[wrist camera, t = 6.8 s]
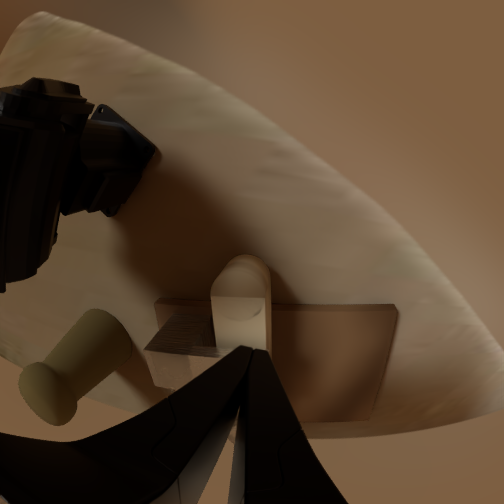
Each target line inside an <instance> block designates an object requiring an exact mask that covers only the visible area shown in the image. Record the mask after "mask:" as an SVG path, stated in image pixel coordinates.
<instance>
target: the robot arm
mask: <svg viewBox="0 0 504 504" xmlns="http://www.w3.org/2000/svg"><path fill="white" fill-rule="evenodd" d="M86 101H87V99H86V98H83V97H82V96H81V95H80V89H79V85H75V84H72V83H67V82H63V81H58V80H53V79H46V78H35V77H32V78H31V79H29V80H28V81H26V82H25V83H23V84H21V85H14V86H9V87H3V88H0V293H4V292H5V291H6V283H12V282H17V281H22V280H25V279H27V278H30V277H32V276H34V275H36V274H37V268H39V267H40V266H41V265H42V264H43V263H44V262H45V261H46V260H47V259H48V258H49V255H50V253H51V250H52V246H53V245H54V244H55V243H56V241H57V235H58V234H57V227H58V221H59V216H60V212H61V213H62V214H63V215H64V216H67V215H70V214H73V213H77V212H80V211H84V210H86V211H87V212H88V213H92V212H96V211H99V210H101V211H102V212H103V213H104V214H105V215H106V216H107V217H112V216H114V215H115V214H116V213H117V211H118V209H119V208H120V206H121V204H124V203H125V202H126V201H127V199H128V198H129V196H130V194H131V193H132V191H133V190H134V188H135V186H136V185H137V183H138V182H139V180H140V179H141V177H142V171H143V169H144V168H145V166H146V165H147V163H148V162H149V160H150V159H151V158H152V156H153V155H154V153H155V146H154V144H153V143H151V142H150V141H149V140H148V139H147V138H145V137H144V136H143V135H142V134H141V133H140V132H138V131H137V130H136V129H135V128H134V127H132V126H131V125H130V124H129V123H128V122H126V121H125V120H124V119H123V118H122V117H120V116H119V115H118V114H117V113H116V112H114V111H113V110H112V109H111V108H110V107H108V106H107V105H104V104H100V105H99V106H98V107H97V109H96V110H95V112H94V114H93V115H92V117H91V119H88V117H89V114H91V113H92V111H93V108H94V106H95V105H94V104H92V103H89V102H86ZM102 109H103V112H102V113H101V111H102ZM147 147H149V149H150V150H149V152H148V153H147V152H146V148H147ZM109 208H110V209H111V213H110V211H109ZM238 411H239V413H238ZM237 415H238V419H237V427H236V436H235V444H234V453H233V462H232V471H231V479H230V488H229V497H228V504H348V503H347V501H346V500H345V498H344V497H343V496H342V494H341V493H340V491H339V490H338V488H337V487H336V486H335V484H334V483H333V481H332V480H331V478H330V477H329V476H328V474H327V472H326V471H325V470H324V468H323V466H322V465H321V463H320V462H319V460H318V458H317V457H316V455H315V453H314V451H313V449H312V448H311V446H310V444H309V442H308V440H307V437H306V435H305V433H304V431H303V430H302V427H301V425H300V422H299V420H298V418H297V416H296V414H295V411H294V409H293V407H292V405H291V402H290V400H289V398H288V396H287V393H286V391H285V389H284V387H283V384H282V382H281V380H280V378H279V375H278V373H277V371H276V368H275V366H274V364H273V362H272V359H271V357H270V355H269V352H268V351H267V350H262V349H257V348H255V349H254V350H253V348H252V347H248V346H244V345H239V346H238V347H236V348H235V349H234V350H233V351H231V352H230V353H229V354H227V355H226V356H224V357H223V358H222V359H220V360H219V361H218V362H216V363H215V364H214V365H212V366H211V367H209V368H208V369H207V370H205V371H204V372H202V373H201V374H200V375H198V376H197V377H195V378H194V379H193V380H191V381H190V382H188V383H187V384H185V385H184V386H183V387H181V388H180V389H178V390H177V391H175V392H174V393H172V394H171V395H169V396H168V398H165V399H163V400H162V401H160V402H159V403H157V404H156V405H154V406H152V407H151V408H149V409H147V410H146V411H144V412H142V413H140V414H139V415H137V416H135V417H133V418H131V419H129V420H126V421H124V422H122V423H120V424H118V425H115V426H113V427H111V428H109V429H106V430H104V431H101V432H99V433H97V434H94V435H92V436H89V437H87V438H84V439H81V440H77V441H71V442H56V441H47V440H40V439H33V438H27V437H21V436H16V435H10V434H5V433H1V432H0V504H197V503H198V501H199V498H200V496H201V494H202V492H203V490H204V488H205V486H206V484H207V482H208V480H209V477H210V475H211V473H212V471H213V469H214V467H215V465H216V463H217V461H218V458H219V456H220V454H221V452H222V449H223V447H224V445H225V443H226V440H227V438H228V436H229V434H230V432H231V429H232V427H233V425H234V422H235V420H236V417H237Z"/></svg>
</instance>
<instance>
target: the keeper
mask: <svg viewBox="0 0 504 504" xmlns="http://www.w3.org/2000/svg"><path fill="white" fill-rule="evenodd" d="M234 349H235V348H217V346H216V340H215V334H214V328H213V321H212V315H198V314H178V313H173V314H172V315H171V317H170V318H169V319H168V320H167V321H166V323H165V324H164V325H163V326H162V327H161V329H160V330H159V331H158V332H157V334H156V335H155V336H154V337H153V338H152V340H151V341H150V342H149V343H148V344H147V346H146V347H145V348H144V349H143V351H144V355H145V358H146V361H147V364H148V367H149V370H150V373H151V376H152V379H153V382H154V385H155V386H158V387H163V388H169V389H176V390H178V389H180V388H181V387H183V386H184V385H185V384H187V383H188V382H190V381H191V380H193V379H194V378H195V377H197V376H198V375H200V374H201V373H202V372H204V371H205V370H207V369H208V368H209V367H211V366H212V365H214V364H215V363H216V362H218V361H219V360H220V359H222V358H223V357H224V356H226V355H227V354H229V353H230V352H231V351H233V350H234ZM253 350H254V349H253ZM262 350H265V349H262ZM267 351H268V352H269V350H267ZM237 419H238V418H237ZM237 419H236V420H235V422H234V425H233V427H232V429H231V432H230V434H229V436H228V439H229V440H230V441H231V442H232V443H234V444H235V436H236V427H237Z"/></svg>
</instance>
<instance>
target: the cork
mask: <svg viewBox="0 0 504 504" xmlns="http://www.w3.org/2000/svg"><path fill="white" fill-rule="evenodd" d="M131 353H132V344H131V340H130V338H129V335H128V333H127V332H126V330H125V329H124V327H123V325H122V324H121V323H120V322H119V321H118V320H117V319H116V318H115V317H114V316H112V315H111V314H109V313H108V312H106V311H103V310H100V309H90V310H89V311H87V312H86V313H85V314H84V315H83V316H82V317H81V318H80V319H79V320H78V321H77V323H76V324H75V325H74V326H73V327H72V328H71V329H70V330H69V332H68V333H67V334H66V335H65V336H64V337H63V339H62V340H61V341H60V342H59V343H58V344H57V346H56V347H55V348H54V349H53V350H52V351H51V353H50V354H49V355H48V356H47V357H46V359H45V360H44V361H43V362H36V363H33V364H31V365H28V366H27V367H26V368H24V369H23V371H22V373H21V374H20V377H19V382H18V385H19V390H20V393H21V395H22V397H23V399H24V400H25V402H26V403H27V404H28V406H29V407H30V408H31V409H32V410H33V411H34V412H35V414H36V415H38V416H39V417H40V418H41V419H43V420H44V421H45V422H47V423H49V424H52V425H54V426H61V425H64V424H66V423H68V422H69V421H70V420H71V419H72V417H73V416H74V415H75V413H76V410H77V401H78V400H79V399H80V398H82V397H83V396H84V395H85V394H87V393H88V392H89V391H90V390H91V389H93V388H94V387H95V386H96V385H97V384H99V383H100V382H101V381H102V380H104V379H105V378H106V377H107V376H108V375H110V374H111V373H112V372H113V371H114V370H116V369H117V368H118V367H119V366H121V365H122V364H123V363H124V362H125V361H127V359H128V358H129V357H130V356H131Z"/></svg>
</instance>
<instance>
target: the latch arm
mask: <svg viewBox="0 0 504 504" xmlns="http://www.w3.org/2000/svg"><path fill="white" fill-rule="evenodd" d="M210 294H211V304H212V313H213V322H214V330H215V338H216V346H217V348H236V347H238V346H239V345H244V346H248V347H252V348H253V349H255V348H257V349H265V350H269V355H270V357H271V359H272V327H271V277H270V271H269V269H268V267H267V265H266V264H265V263H264V262H263V261H262V260H261V259H259V258H258V257H256V256H253V255H248V254H243V255H238V256H236V257H234V258H232V259H231V260H230V261H229V262H228V263H227V265H226V266H225V267H224V269H223V270H222V271H221V273H220V274H219V276H218V277H217V278H216V280H215V281H214V283H213V284H212V287H211V293H210ZM238 413H239V411H238ZM237 418H238V415H237V417H236V419H237Z"/></svg>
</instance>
